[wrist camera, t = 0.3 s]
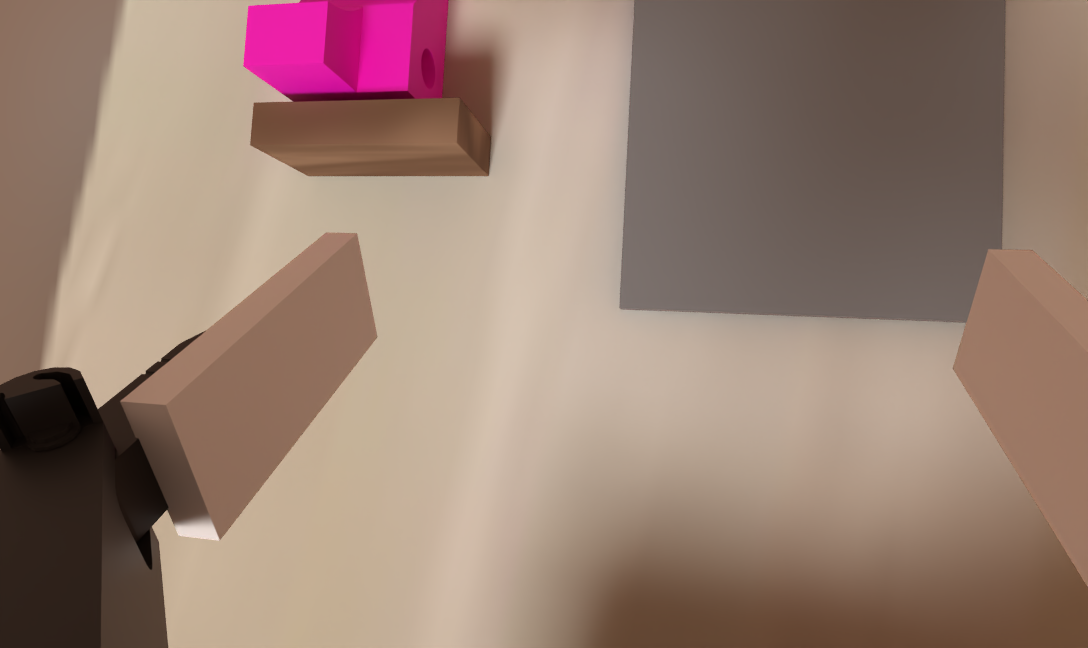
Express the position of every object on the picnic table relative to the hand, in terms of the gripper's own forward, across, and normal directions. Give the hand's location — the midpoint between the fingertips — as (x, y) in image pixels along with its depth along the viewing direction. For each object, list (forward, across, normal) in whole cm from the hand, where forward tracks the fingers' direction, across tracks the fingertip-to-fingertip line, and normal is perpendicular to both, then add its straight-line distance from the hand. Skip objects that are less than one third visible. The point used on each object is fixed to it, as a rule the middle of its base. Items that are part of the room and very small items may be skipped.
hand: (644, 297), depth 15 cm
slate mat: (+21, -6, -1) cm, 22 cm away
